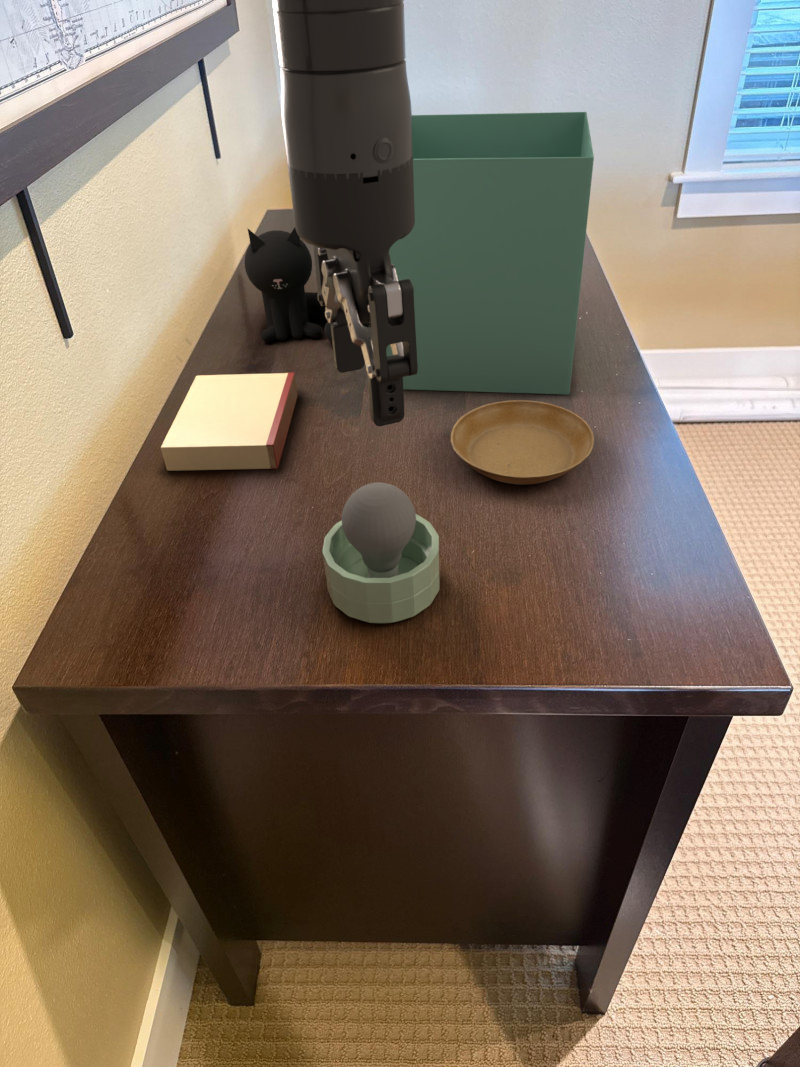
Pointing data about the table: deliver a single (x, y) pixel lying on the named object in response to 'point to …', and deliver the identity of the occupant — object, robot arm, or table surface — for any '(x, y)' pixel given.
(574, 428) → the plant saucer
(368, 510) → the light bulb
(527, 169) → the box
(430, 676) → the table surface
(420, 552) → the bowl
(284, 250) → the figurine
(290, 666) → the table surface
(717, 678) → the table surface
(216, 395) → the book
